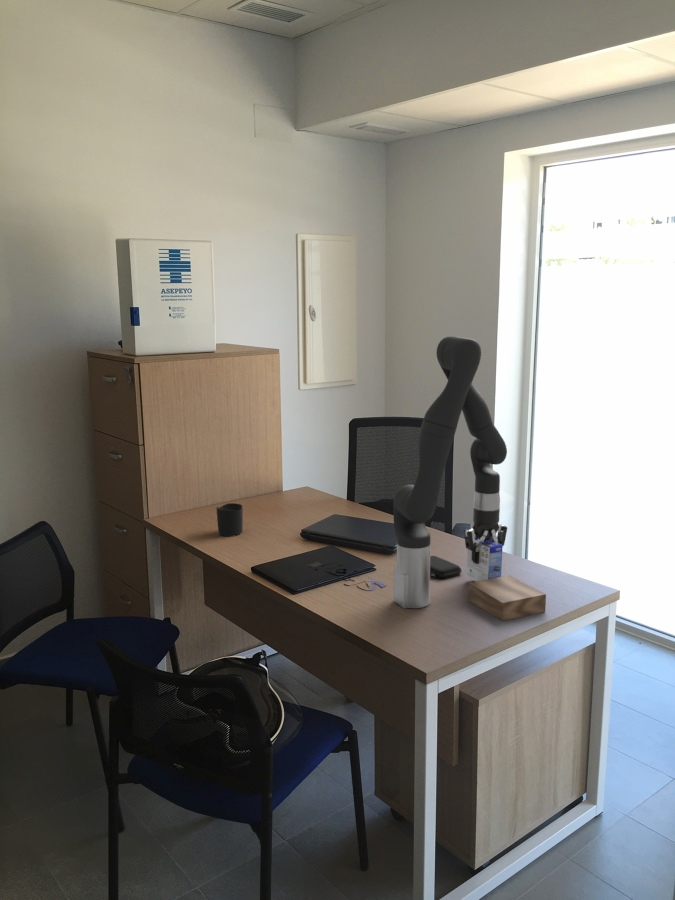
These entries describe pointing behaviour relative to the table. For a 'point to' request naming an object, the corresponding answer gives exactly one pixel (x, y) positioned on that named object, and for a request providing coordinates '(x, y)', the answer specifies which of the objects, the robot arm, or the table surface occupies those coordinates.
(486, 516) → the robot arm
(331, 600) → the table surface
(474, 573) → the ink cartridge box
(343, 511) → the table surface
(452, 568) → the carrying case or bag
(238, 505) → the pen holder
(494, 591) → the wooden block
